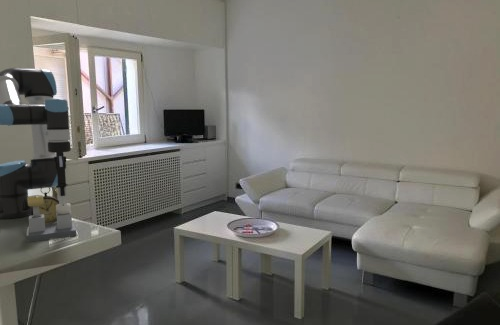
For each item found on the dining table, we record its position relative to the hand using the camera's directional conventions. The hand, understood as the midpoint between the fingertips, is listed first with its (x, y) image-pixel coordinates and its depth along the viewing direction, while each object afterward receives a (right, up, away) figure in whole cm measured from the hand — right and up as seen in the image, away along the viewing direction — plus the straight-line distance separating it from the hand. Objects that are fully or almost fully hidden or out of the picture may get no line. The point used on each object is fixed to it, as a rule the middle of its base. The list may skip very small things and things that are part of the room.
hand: (63, 203), depth 148 cm
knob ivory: (0, -8, +1) cm, 8 cm away
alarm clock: (-10, -10, +10) cm, 17 cm away
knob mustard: (-8, -5, -3) cm, 10 cm away
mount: (-4, -11, -1) cm, 12 cm away
